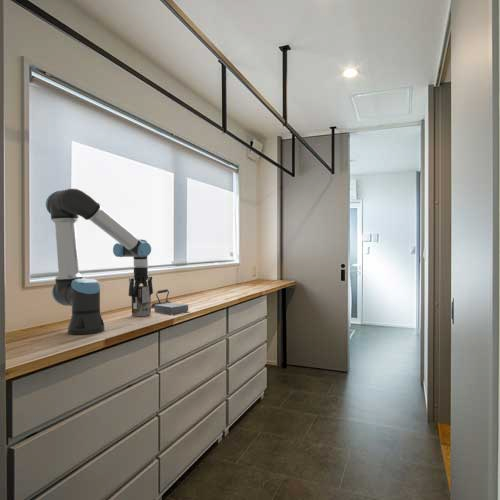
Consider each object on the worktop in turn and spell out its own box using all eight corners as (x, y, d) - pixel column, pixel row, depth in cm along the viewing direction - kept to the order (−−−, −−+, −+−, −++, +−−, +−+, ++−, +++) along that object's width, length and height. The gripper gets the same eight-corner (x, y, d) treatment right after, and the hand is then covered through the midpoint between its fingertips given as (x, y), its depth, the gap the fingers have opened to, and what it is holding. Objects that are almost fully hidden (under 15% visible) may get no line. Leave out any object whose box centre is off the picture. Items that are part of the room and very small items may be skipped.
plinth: (171, 314, 206) (171, 307, 206) (154, 311, 216) (154, 305, 216) (188, 311, 215) (188, 304, 215) (171, 309, 225) (171, 302, 225)
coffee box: (151, 314, 206) (151, 286, 206) (142, 316, 201) (142, 287, 201) (140, 313, 211) (139, 285, 211) (131, 315, 206) (130, 286, 206)
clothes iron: (162, 308, 228) (161, 291, 228) (150, 307, 233) (150, 290, 233) (176, 305, 241) (176, 288, 241) (165, 304, 245) (165, 288, 245)
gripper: (151, 266, 216) (152, 305, 216) (120, 267, 201) (121, 309, 201) (159, 266, 211) (160, 306, 211) (128, 267, 196) (129, 310, 196)
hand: (141, 307), depth 206 cm, fingers closed on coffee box, 7 cm apart
